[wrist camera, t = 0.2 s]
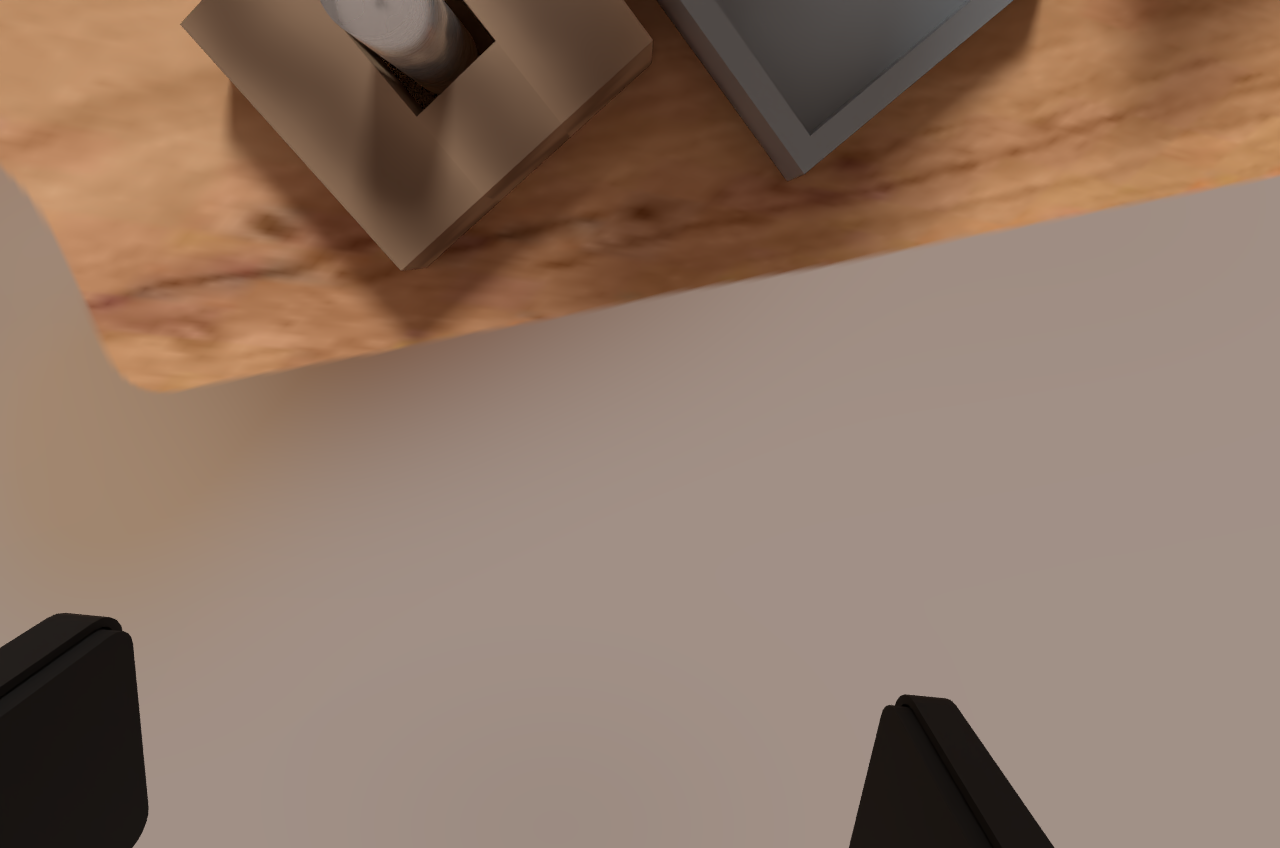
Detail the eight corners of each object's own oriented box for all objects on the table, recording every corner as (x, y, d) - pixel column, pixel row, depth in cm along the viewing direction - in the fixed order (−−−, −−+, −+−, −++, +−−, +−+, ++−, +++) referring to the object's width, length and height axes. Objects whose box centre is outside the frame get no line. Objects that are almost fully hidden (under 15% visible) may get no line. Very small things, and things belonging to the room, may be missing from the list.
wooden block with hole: (462, -193, 31) (437, -255, 27) (651, 63, 34) (653, 40, 30) (232, 49, 34) (180, 24, 30) (426, 268, 37) (401, 270, 33)
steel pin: (443, 0, 33) (363, -100, 24) (492, 61, 34) (434, -11, 24) (392, 51, 34) (294, -26, 24) (441, 110, 35) (365, 59, 25)
